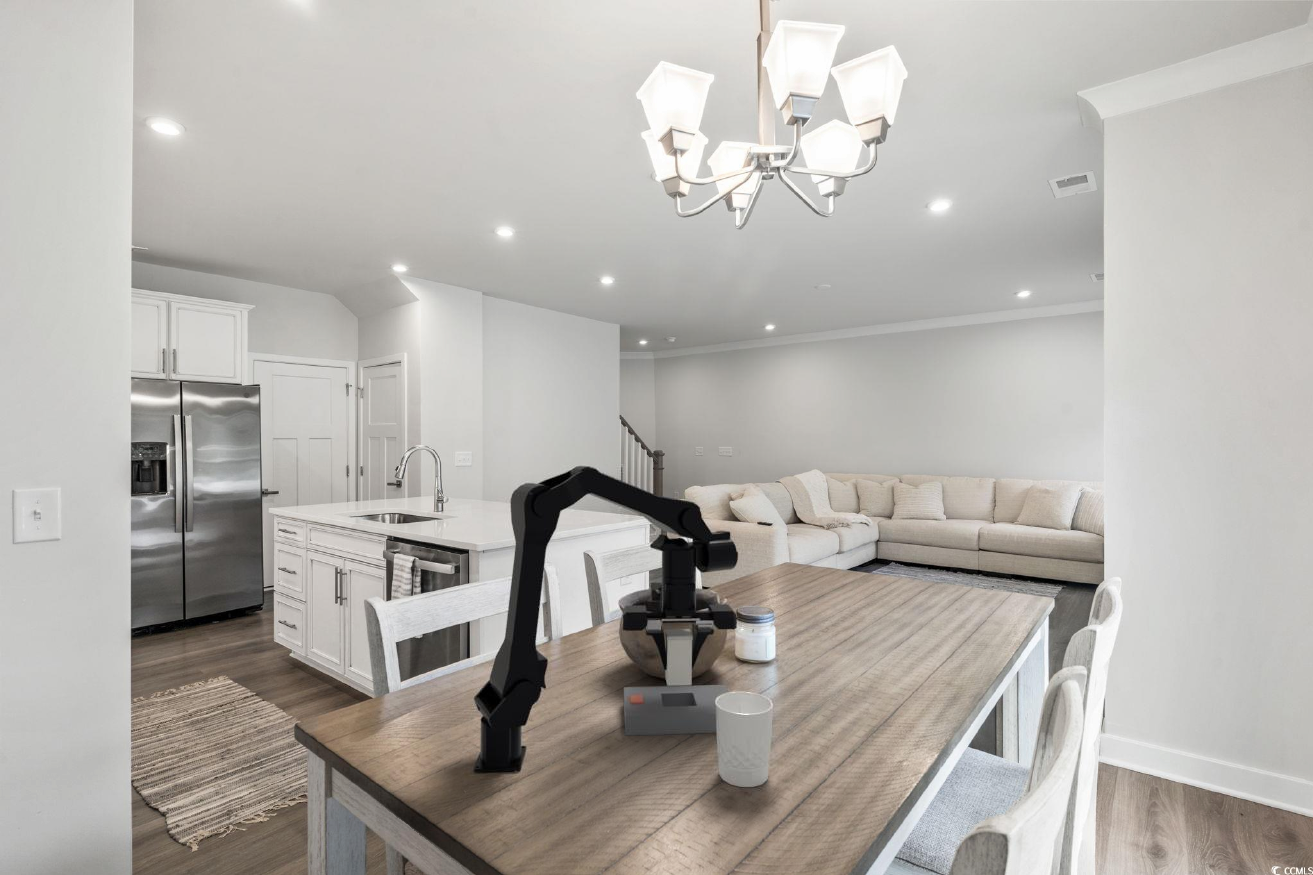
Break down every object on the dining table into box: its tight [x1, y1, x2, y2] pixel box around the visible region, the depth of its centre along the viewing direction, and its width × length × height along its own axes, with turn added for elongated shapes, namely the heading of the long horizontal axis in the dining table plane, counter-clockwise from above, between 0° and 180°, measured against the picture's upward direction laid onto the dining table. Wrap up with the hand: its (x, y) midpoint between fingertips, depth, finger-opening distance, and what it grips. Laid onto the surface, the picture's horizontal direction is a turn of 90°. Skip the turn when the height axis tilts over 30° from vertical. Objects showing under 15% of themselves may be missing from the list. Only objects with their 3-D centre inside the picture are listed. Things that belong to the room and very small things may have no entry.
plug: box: [665, 629, 693, 686], centre depth 107 cm, size 4×4×8 cm
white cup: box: [715, 691, 774, 788], centre depth 88 cm, size 8×8×10 cm
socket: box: [623, 684, 730, 736], centre depth 106 cm, size 12×18×3 cm, turn 94°
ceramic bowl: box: [618, 587, 728, 680], centre depth 128 cm, size 22×22×15 cm
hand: (678, 668), depth 107 cm, fingers closed on plug, 4 cm apart
